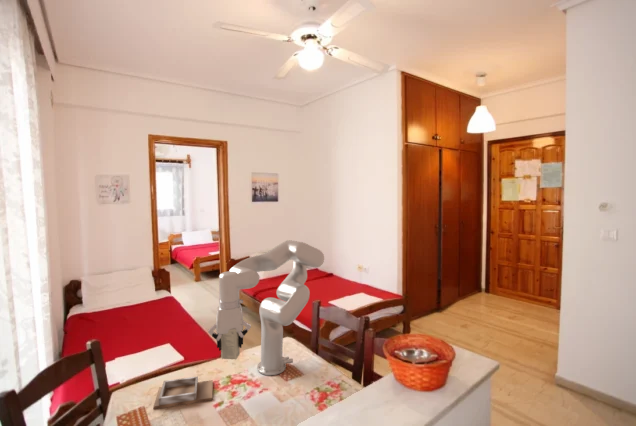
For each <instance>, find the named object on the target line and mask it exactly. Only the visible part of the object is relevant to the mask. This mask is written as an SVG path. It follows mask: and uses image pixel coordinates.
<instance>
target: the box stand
mask: <svg viewBox="0 0 636 426" xmlns="http://www.w3.org/2000/svg"><path fill="white" fill-rule="evenodd" d="M213 383H214V381H213V379H212V380H205V381H199V376H191V377H184V378H176V379H169V380H163V383H162V386H161V387H160V386H159V387H158V390H157V393H156V397H155V400H154V403H153V410H157V409H158V410H159V409H163V408H171V407H175V406H176V407H177V406H184V405H190V404H195V403H204V402H209V401H213Z"/></svg>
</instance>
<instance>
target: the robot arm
mask: <svg viewBox="0 0 636 426" xmlns="http://www.w3.org/2000/svg"><path fill="white" fill-rule="evenodd" d="M291 260H292V269H291V270H290V272H289V273H288V274H287V276H286V277H285V279H283V281H281V283H280V284H279V286H278V287H277V289H276V296H277V298H276V297H266V298H264V299H263V300H261V303H260V304H259V310H258V311H259V312H258V313H259V318H260V325H261V328H260V331H261V332H260V337H261V338H260V339H261V340H260V361H259V362H258V364H257V366H256V369H257V370H256V371H257V372H259V373H260V374H262V375H264V376H277V375H280V374H281V373H283V372H284V371H285V370H286V368H287V367H286V365H287V364H293V363H294V359H293V358H292V357H291V358H290V357H289V356H284V355H283V351H284V348H283V346H284V345H283V343H284V342H283V341H284V335H283V334H284V327H286V326H290V325H291V324H293V323H294V322H295V320H296V319H297V318H298V316H299V315H300V314H301V312H302V311H303V309H304V308H305V307H306V305H307V304H308V302H309V300H310V294H311V293H310V292H311V291H310V288H309V287H308V286H307V285H306V284H305V283H307V282H306V281H307V280H308V269H307V267H310V268H319V267H321V266H323V264H324V263H325V254H324V252H323V251H322V250H320V249H318V248H316V247H314V246H312V245H310V244H308V243H305V242H303V241H297V240H288V239H287V240H285V241H283V242H281V243H279V244H278V245H277V246H275V247H273V248H271V249H270V250H268V251H267V252H264V253H260V254H258V255H257V254H256V255H254V256H250V257H248V258H245V259H242V260H240V261H239V262H237V263H236V264H235V265H233V266H232V267H231V268H230V269H229V271H224V272H221V273H220V274H219V275H218V293H219V294H218V298H219V305H218V307H217V308H216V309H217V311H216V318H215V320H216V322H215V324H213V325H212V326H211V327H210V328H209V329H208V330H207V332H208V334H209V335H210V336H211V337H212V338H213V339H214V340H216V348H217V349H218V351H220V352H221V336H222V334H227V333H228V331H229V330H231V329H236V332H238V333H239V348H240V349H242V345H244V338H245V335H246V334H247V333H248V332H249V330H251V328H252V325H251V324H250V323H248V322H247V321H245V320H244V316H243V308H242V305H241V304H243V303H244V299H240V290H247V289H252V288H254V287H256V286H257V285H258V284H259V282H260V274H259V272H270V271H275V270H277V269H278V268H280V267H281V266H283V265H284V264H286V263H287V262H289V261H291ZM244 327H245V328H244ZM215 330H216V332H214V331H215Z"/></svg>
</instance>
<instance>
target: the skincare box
mask: <svg viewBox="0 0 636 426" xmlns="http://www.w3.org/2000/svg"><path fill="white" fill-rule="evenodd" d="M239 336H240V335H239V333H238V332H236V329H231V330H229V331H228V333H227V334H222V336H221V350H220V353H221V354H220V355H221V356H220V357H221V360H237V359H238V357H239V356H240V349H241V348H240V347H239Z"/></svg>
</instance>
